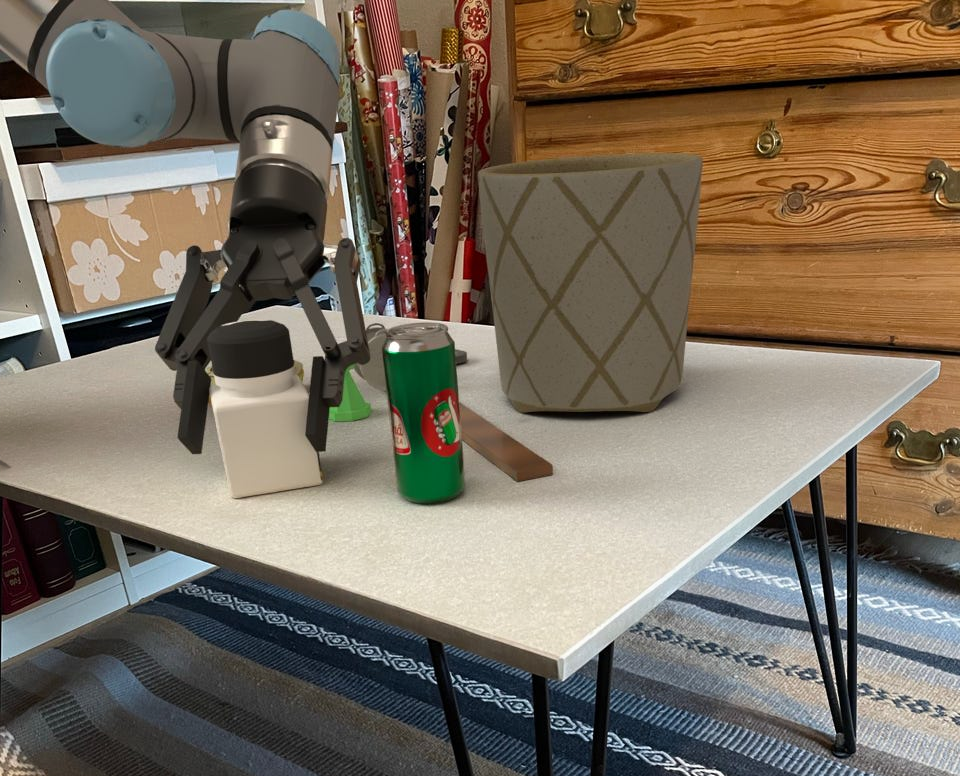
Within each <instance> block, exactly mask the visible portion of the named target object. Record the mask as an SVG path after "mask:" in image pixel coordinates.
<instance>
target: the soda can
mask: <svg viewBox="0 0 960 776" xmlns="http://www.w3.org/2000/svg"><path fill="white" fill-rule="evenodd" d="M387 329H388V330H387V331H386V333H385V334H386V336H387V338H386V340H385V342H384V344H383V346H382V356H383V365H384V374H385V383H386V391H385V392H386V400H387V409H388V417H389V426H390V434H391V435H390V436H391V445H392V453H393V462H394V472H395V480H396V489H397V491H398V492H397V493H399V494H400V495H401V497H402V498H404V499H405V500H407V501H409V502H411V503H415V504H423V505H424V504H425V505H429V504H439V503H444V502H448V501H450V500H453V499H455V498H457V497H458V496H460V494H461V492H463V490H464V488H465V486H466V476H465V475H466V474H465V462H464V460H465V459H464V448H463V440H462V434H461V421H460V407H459V402H460V395H459V382H458V371H457V370H458V369H457V364H456V355H455V349H456V346H455V345H456V343H455V340H454V339H453V338H452V336H451V335H450V333H449V326H448V325H446V324H445V323H440V322H428V321H425V322H412V323H403V324H399V325H395V326H393V327H392V326H391V327H390V328H387Z"/></svg>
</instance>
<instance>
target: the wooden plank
mask: <svg viewBox="0 0 960 776" xmlns="http://www.w3.org/2000/svg"><path fill="white" fill-rule="evenodd" d="M459 407H460V421H461V434H462V442H464V443H466V444H467V445H468V446H470V448H472V449H473V450H475V451H476V452H478V453H479V454H480V455H481V456H482V457H484V458H485V459H487V460H488V461H489V462H491V463H492V464H493V465H495V466H496V467H497V468H499V469H500V470H501V471H502V472H504V473H505V474H507V475H508V476H509V477H510V478H512V479H513V480H515V481H516V482H522V481H528V480H532V479H536V478H542V477H546V476H547V477H548V476H553V475H554V465H553V463H551V462H550V461H548V460H547V459H545V458H544V457H542V456H540V455H539V454H538V453H535V452H534V451H533V450H531V449H530V448H528V446H525V445H524V444H523V443H521V442H519V441H518V440H516V438H514V437H512V436H510V435H509V434H507V433H506V432H505V431H503V430H501V429H500V428H499V427H497V426H496V425H494V424H492V423H491V422H489V421H488V420H487V419H485V418H484V417H482V416H481V415H480V414H478V413H477V412H475V411H473V410H472V409H470V408H469V407H467V406H466V405H464V404H462V403H461V402H460V401H459Z"/></svg>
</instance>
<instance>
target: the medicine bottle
mask: <svg viewBox="0 0 960 776" xmlns="http://www.w3.org/2000/svg"><path fill="white" fill-rule="evenodd" d="M207 342H208V347H209V353H210V358H211V361H210V363H211V366H212V368H213V373H214V378H215V383H216V385H212V386H211V387H210V388H209V393H210V398H211V403H212V405H211V409H212V412H213V418H214V423H215V427H216V432H217V437H218V443H219V447H220V451H221V452H220V453H221V457H222V462H223V468H224V471H225V476H226V481H227V486H228V491H229V496H230V497H231V498H233V499H240V498H245V497H252V496H257V495H264V494H271V493H278V492H284V491H289V490H297V489H302V488H308V487H314V486H315V487H316V486H320V485H322V484H323V482H324V481H323V480H324V479H323V477H324V476H323V471H322V463H321V457H320V452H316V451H315V450H314V448H313V446H312V445H311V443H310V442H309V440H308V439H307V437H306V436H305V431H306V422H307V412H308V402H309V392H308V390H307V389H306V387H305V385H304V383H303V382H302V381H301V379H300V378H299V376H298V375H296V372H295V366H294V360H295V359H294V354H293V347H292V341H291V334H290V329H289V328H288V327H287V326H286V325H284V324H283V323H281V322H277V321H275V320H272V319H246V320H245V319H244V320H238V321H237V322H232V323H228V324H225V325H222V326H220V327H218V328H216V329H215V330H214V331H212V332H211V333H210V334H209V336H208V338H207Z"/></svg>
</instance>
